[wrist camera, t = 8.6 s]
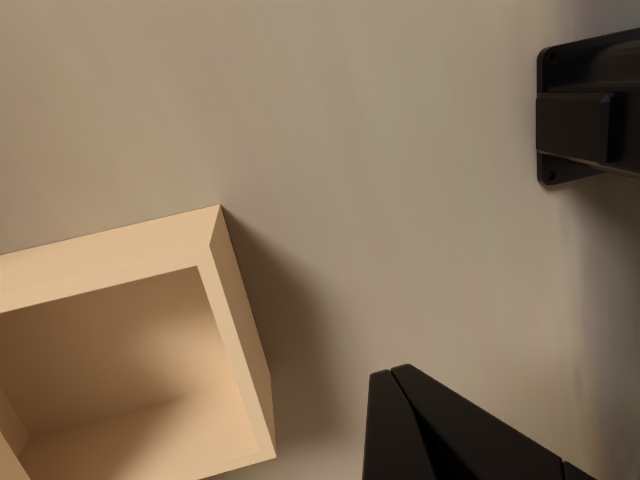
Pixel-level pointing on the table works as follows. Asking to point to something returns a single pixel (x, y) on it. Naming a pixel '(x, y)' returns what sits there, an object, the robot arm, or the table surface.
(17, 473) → the cream angled plate
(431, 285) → the table surface
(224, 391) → the base
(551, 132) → the robot arm
